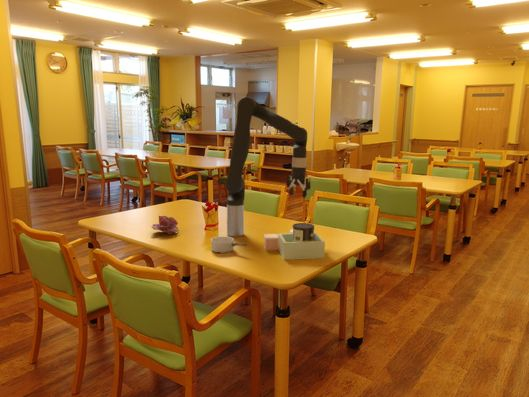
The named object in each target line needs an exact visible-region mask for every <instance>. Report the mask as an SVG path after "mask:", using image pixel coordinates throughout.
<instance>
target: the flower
mask: <svg viewBox="0 0 529 397" xmlns="http://www.w3.org/2000/svg"><path fill="white" fill-rule="evenodd" d="M177 225H179V223H178V221H177V219H175V218H174V217H172V216H169V217H168V216H166V215H158V223H152V226H151V228H152V229H153V230H157V231H161V232H162V233H163V232H164V233H166V234H168V235H169V234H171V235H173V234H176V232H177V231H178V232H179V228H178V226H177Z"/></svg>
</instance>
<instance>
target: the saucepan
mask: <svg viewBox="0 0 529 397" xmlns="http://www.w3.org/2000/svg"><path fill="white" fill-rule="evenodd" d="M210 241H211V250H212V251H213V252H215V253H217V252H220V253H219V254H225V253H224V252H227V253H230V252H231V251H233V250H234V247H236V246H241V247H247V246H248V244H247V243H241V242H234V241H235V237H233V236H227V235H226V236H225V235H224V236H222V235H220V236H214V237H211V239H210Z"/></svg>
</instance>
